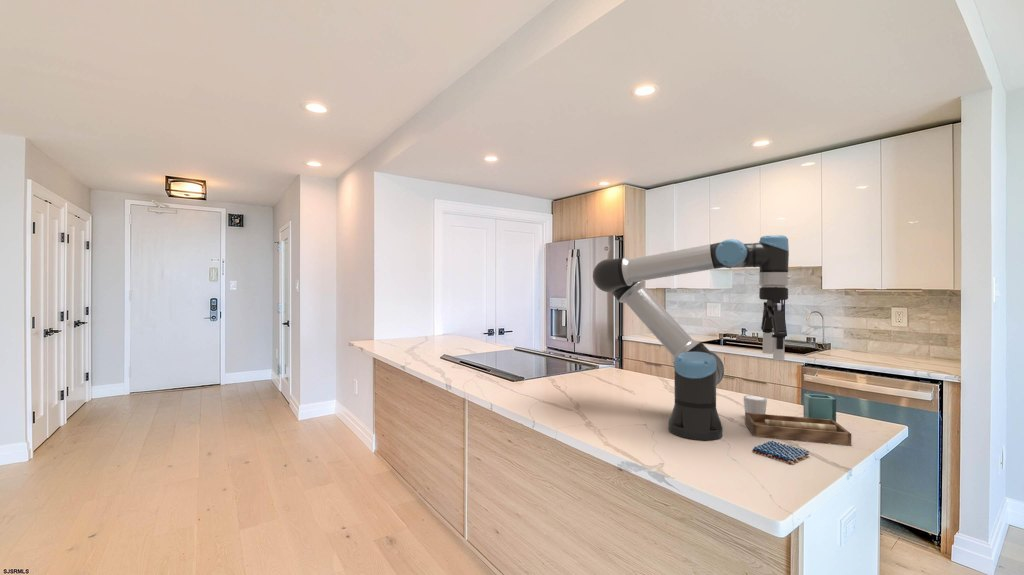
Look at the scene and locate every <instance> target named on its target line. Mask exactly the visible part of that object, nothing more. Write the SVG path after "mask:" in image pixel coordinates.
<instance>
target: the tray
mask: <svg viewBox="0 0 1024 575" xmlns="http://www.w3.org/2000/svg"><path fill="white" fill-rule="evenodd" d="M765 419H767V420H780V421H792V422H805V423H817V424H830V425H835V426H836V428H837V432H834V431H823V430H811V429H800V428H789V427H777V426H766V425H765ZM744 423H745V425H746V427H747V426H748V427H747V428H748V430H749V431H750V433H751V434H752V436H753V437H755V438H765V437H766V438H767V439H768V438H769V439H775V438H776V439H777V440H787V441H796V440H798V442H807V441H808V442H807V443H817V444H828V443H831V444H830V445H838V444H841V445H840V446H848V445H849V446H850V447H851V446H852V433H851V432H850V431H848V429H846V428H844V427H843V426H842V425H841V424H839V423H838V422H837V421H836V422H835V421H834V420H830V419H818V418H805V417H804V416H803V417H801V416H793V415H792V416H790V415H778V414H767V413H765V414H756V413H745V412H744Z"/></svg>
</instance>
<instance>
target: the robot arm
mask: <svg viewBox="0 0 1024 575" xmlns="http://www.w3.org/2000/svg"><path fill="white" fill-rule="evenodd" d="M789 246H790V245H789V238H788V236H786V235H784V234H783V235H782V234H781V235H780V234H774V235H773V234H771V235H763V236H761V237H760V238H759V242H754V243H744V242H742V241H740V239H739V240H738V239H734V238H729V239H725V240H722V241H720V242H716V243H712V244H710V243H709V244H704V245H700V246H694V247H693V246H692V247H688V248H683V249H678V250H673V251H668V252H667V251H666V252H662V253H657V254H651V255H646V256H641V257H634V258H628V257H627V256H624V257H618V258H606V259H602V260H601V261H599V262H598V263H597V264H596V266H595V267H594V268H593V271H592V279H593V283H594V284H595V286H596V287H597V288H598V289H599V290H601V291H602V292H605V293H611V294H612V295H613V296H614V298H615V299H616V300H617V301H618V302H619V303H620V304H621V303H622V304H626V305H627V306H628V307H629V308H630V310H631V311H632V312H633V313H634V314H635V315H636V316H637V318H638V319H639V320H640V321H641V322H642V323H643V324H644V326H645V327H647V329H648V330H649V331H650V332H651V333H652V334H653V336H655V337H656V339H657V340H658V341H659V342H660V343H661V344H662V346H663V347H664V348H665V349H666V350H667V351H668V352H669V354H670V355H671V356H672V364H673V369H674V372H673V373H674V404H673V408H672V411H671V414H670V416H669V419H668V431H669V432H670V433H671V434H673V435H675V436H679V437H681V438H685V439H691V440H696V441H697V440H698V441H711V440H713V441H714V440H718V439H720V438H722V437H723V435H724V433H723V432H724V431H723V430H724V429H723V428H724V427H723V424H722V421H721V418H720V416H719V413H718V410H717V385H718V384H720V383H721V382H722V380H723V378H724V374H725V367H724V363H723V360H722V359H721V357H719V355H717V354H716V353H715V352H713V351H711V350H709V348H707V346H706V345H704V343H703V342H702V341H701V340H694V339H693V338H692V337H691V336H690V335H689V333H687V332H686V330H684V328H683V327H682V326H681V325H680V324H679V323H678V322H677V321H676V320H675V318H674V317H673V316H672V315H671V314H670V313H669V312H668V311H667V310H666V309H665V308H664V306H662V304H661V303H660V302H659V301H658V300H657V299H656V298H655V297H654V296H653V294H652V293H651V292H650V291H649V290H648V289H647V288H646V281H649V280H655V279H660V278H667V277H674V276H679V275H686V274H692V273H699V272H704V271H711V270H715V269H716V270H717V269H724V268H726V269H735V268H737V269H739V268H759V273H758V274H759V275H758V276H759V278H758V279H759V282H758V283H759V284H758V285H759V286H760V288H759V289H758V290H759V292H758V293H759V295H758V298H759V299H760V300H763V310H762V312H763V313H762V319H761V327H760V329H761V331H762V354H768V355H771V354H772V360H773V361H779V362H780V361H783V362H785V344H786V343H785V340H786V339H785V338H786V337H788V332H787V324H786V313H785V303H784V302H783V303H781V301H787V300H788V299H789V288H788V287H786V286H788V285H789V280H790V279H791V275H789V262H790V260H789V257H790V256H789V255H790V253H789V252H790V251H789V249H790V248H789Z"/></svg>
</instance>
